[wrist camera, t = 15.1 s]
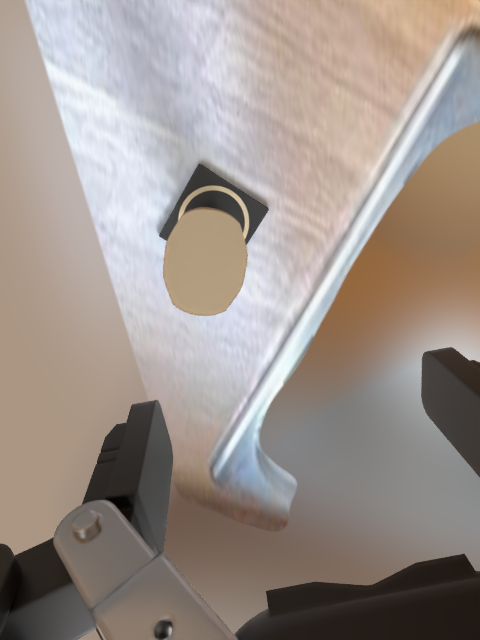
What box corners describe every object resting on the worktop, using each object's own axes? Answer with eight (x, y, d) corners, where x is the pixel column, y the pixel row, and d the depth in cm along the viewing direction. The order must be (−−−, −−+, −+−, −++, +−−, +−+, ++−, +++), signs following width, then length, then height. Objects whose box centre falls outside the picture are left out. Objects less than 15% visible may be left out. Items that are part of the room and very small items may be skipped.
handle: (175, 253, 39) (158, 310, 25) (183, 183, 36) (169, 203, 22) (225, 261, 39) (236, 320, 25) (236, 192, 37) (255, 216, 23)
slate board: (199, 163, 36) (199, 163, 36) (268, 208, 38) (269, 209, 38) (159, 235, 38) (158, 236, 38) (226, 274, 40) (227, 276, 40)
